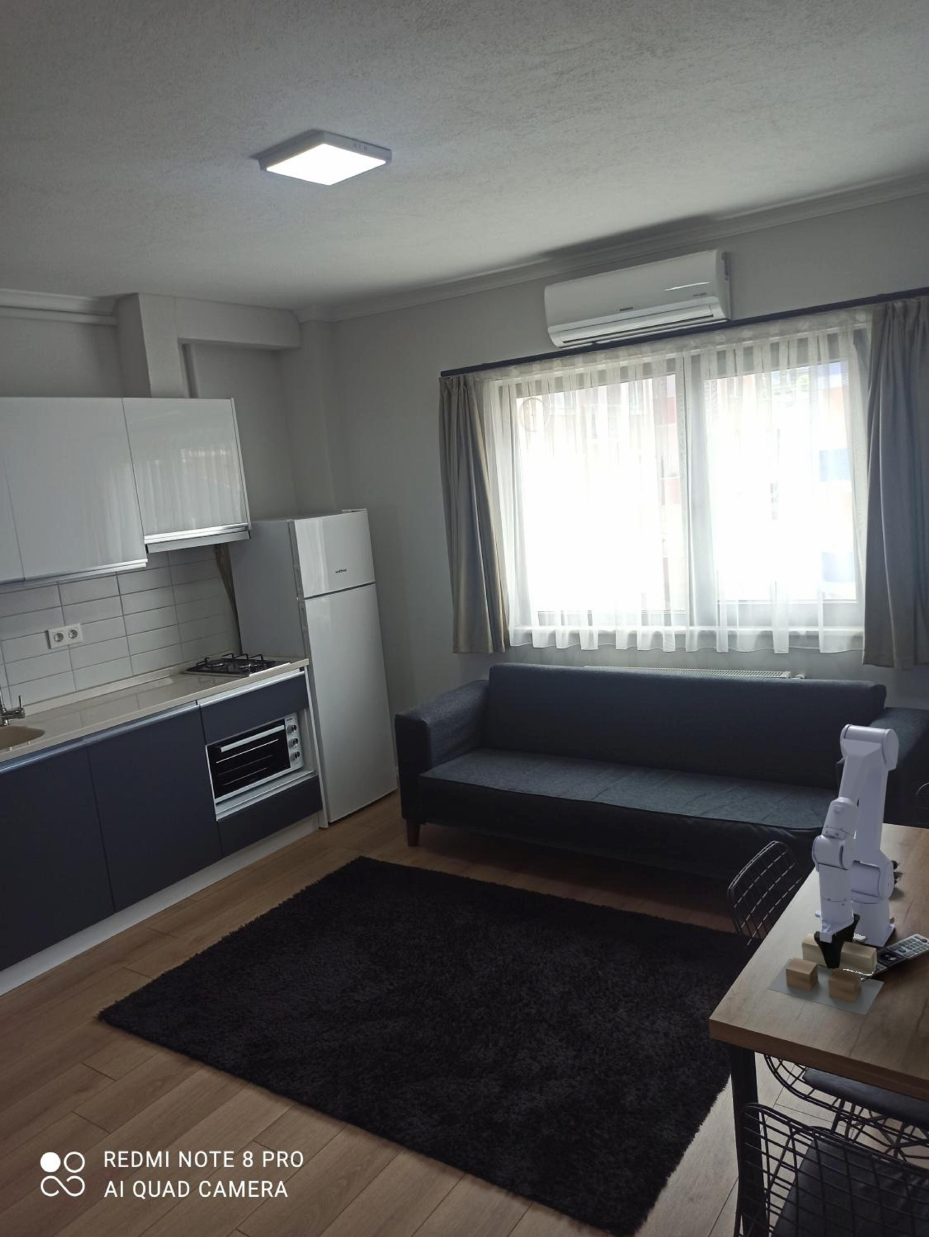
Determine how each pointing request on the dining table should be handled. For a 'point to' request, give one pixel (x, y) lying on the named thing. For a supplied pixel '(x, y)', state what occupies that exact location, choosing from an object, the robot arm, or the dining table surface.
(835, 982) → the block
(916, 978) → the dining table surface
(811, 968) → the block
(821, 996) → the mat
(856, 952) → the plank
